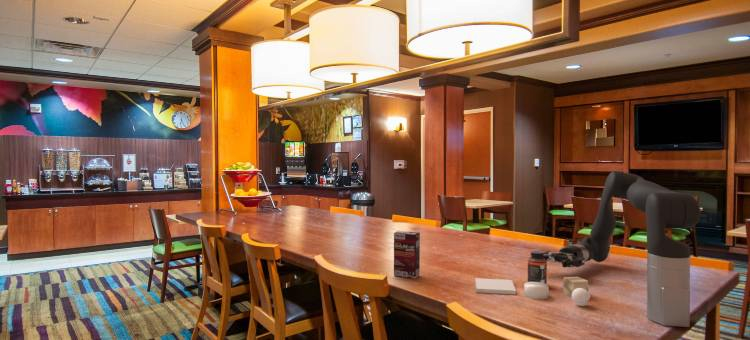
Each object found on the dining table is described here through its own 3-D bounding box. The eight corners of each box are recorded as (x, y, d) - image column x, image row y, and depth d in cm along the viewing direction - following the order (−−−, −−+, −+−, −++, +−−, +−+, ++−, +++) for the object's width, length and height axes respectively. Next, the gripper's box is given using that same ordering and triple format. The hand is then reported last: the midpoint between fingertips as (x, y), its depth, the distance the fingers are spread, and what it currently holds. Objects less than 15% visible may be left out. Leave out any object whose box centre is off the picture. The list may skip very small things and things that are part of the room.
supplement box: (393, 276, 156) (393, 232, 155) (398, 273, 160) (398, 230, 160) (415, 279, 152) (415, 234, 151) (420, 275, 156) (420, 232, 156)
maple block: (588, 297, 131) (588, 281, 131) (573, 298, 131) (573, 281, 131) (577, 292, 136) (578, 276, 136) (563, 293, 136) (563, 277, 135)
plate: (516, 294, 134) (516, 290, 134) (476, 292, 136) (476, 288, 136) (511, 283, 146) (511, 280, 146) (475, 281, 148) (475, 278, 148)
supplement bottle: (548, 288, 140) (548, 254, 140) (528, 287, 141) (529, 253, 141) (544, 283, 146) (545, 250, 145) (526, 282, 147) (526, 249, 147)
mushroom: (584, 309, 120) (584, 291, 120) (568, 305, 124) (568, 287, 124) (593, 306, 123) (593, 288, 123) (577, 301, 127) (577, 284, 127)
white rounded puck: (550, 300, 129) (550, 288, 129) (526, 299, 130) (526, 287, 130) (546, 293, 136) (546, 282, 136) (522, 292, 137) (522, 281, 137)
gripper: (555, 242, 165) (532, 247, 154) (593, 248, 154) (571, 254, 143) (555, 261, 165) (532, 268, 155) (593, 269, 154) (571, 277, 144)
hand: (551, 261), depth 149 cm, fingers open, 8 cm apart
